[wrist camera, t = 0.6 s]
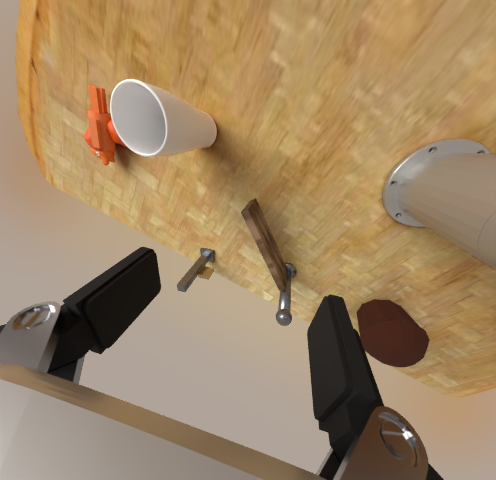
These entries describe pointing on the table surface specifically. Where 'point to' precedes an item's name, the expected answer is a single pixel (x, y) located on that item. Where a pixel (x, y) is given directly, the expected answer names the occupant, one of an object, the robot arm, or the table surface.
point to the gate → (265, 242)
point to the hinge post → (286, 298)
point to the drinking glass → (158, 121)
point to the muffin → (391, 334)
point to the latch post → (198, 270)
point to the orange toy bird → (101, 127)
